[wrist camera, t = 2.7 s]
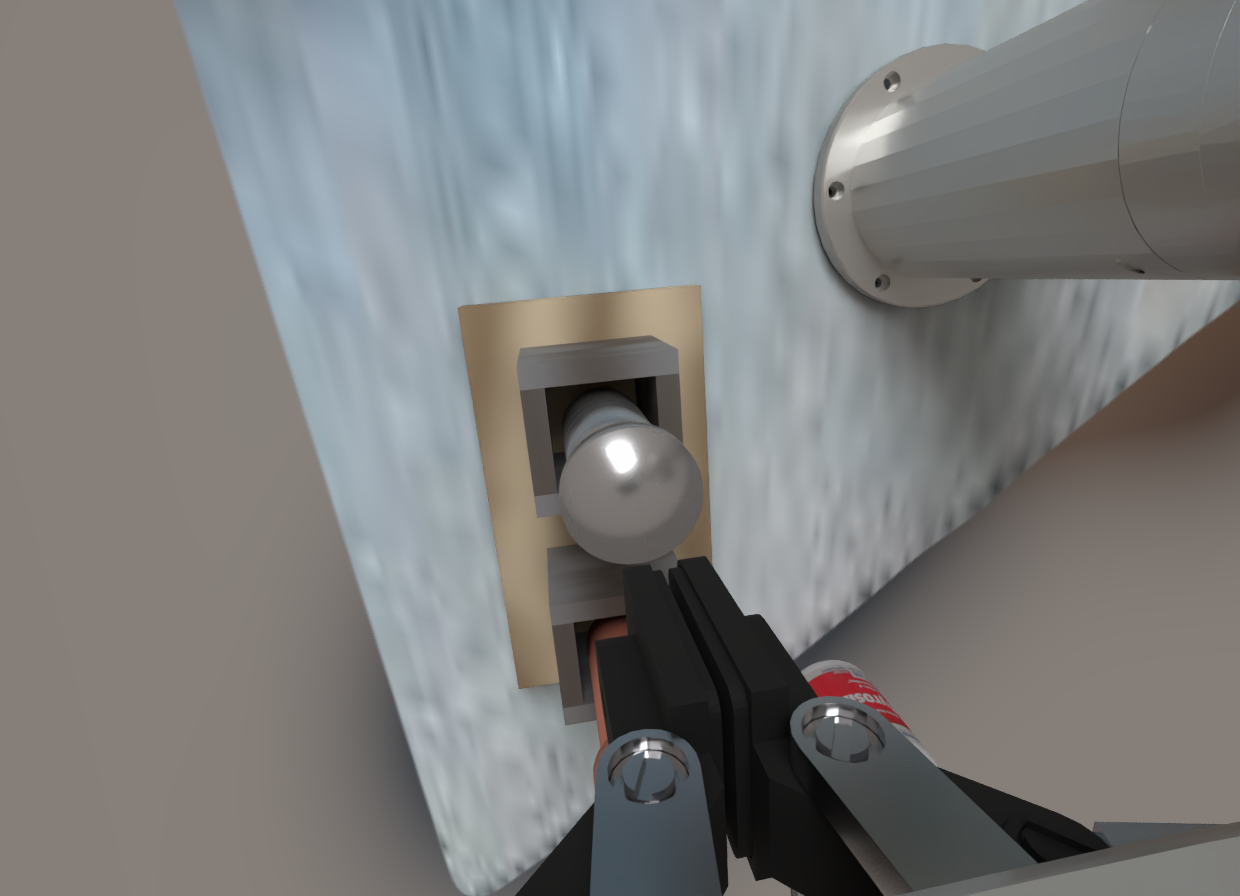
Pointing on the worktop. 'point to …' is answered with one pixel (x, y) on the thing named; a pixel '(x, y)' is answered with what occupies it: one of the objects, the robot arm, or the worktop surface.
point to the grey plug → (625, 480)
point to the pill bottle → (855, 692)
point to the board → (535, 456)
